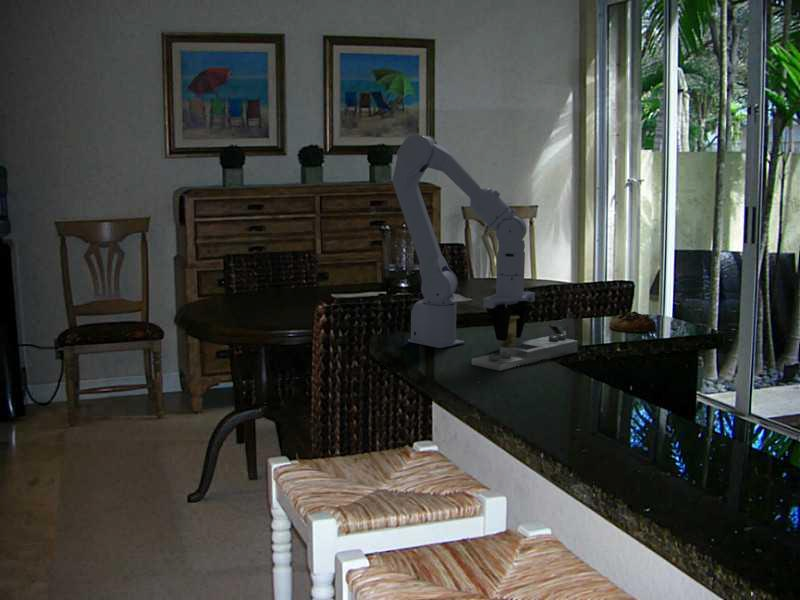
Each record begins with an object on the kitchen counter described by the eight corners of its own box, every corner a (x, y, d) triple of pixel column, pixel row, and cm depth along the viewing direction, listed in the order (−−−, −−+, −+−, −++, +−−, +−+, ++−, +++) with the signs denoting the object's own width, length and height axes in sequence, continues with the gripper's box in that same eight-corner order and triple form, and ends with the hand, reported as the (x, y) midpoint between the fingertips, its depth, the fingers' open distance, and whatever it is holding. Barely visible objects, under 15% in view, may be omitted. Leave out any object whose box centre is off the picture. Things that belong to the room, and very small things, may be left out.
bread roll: (666, 331, 219) (665, 310, 218) (626, 340, 215) (624, 319, 214) (637, 324, 229) (635, 304, 228) (598, 334, 225) (596, 313, 224)
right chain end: (499, 358, 188) (499, 342, 188) (549, 346, 200) (550, 332, 199) (527, 364, 183) (528, 347, 183) (577, 352, 195) (578, 336, 194)
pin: (493, 347, 199) (494, 314, 198) (506, 344, 202) (507, 312, 201) (509, 350, 196) (510, 317, 195) (523, 347, 199) (524, 314, 198)
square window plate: (471, 364, 182) (471, 354, 182) (522, 353, 193) (522, 343, 193) (499, 370, 177) (500, 360, 177) (549, 358, 188) (550, 348, 188)
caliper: (573, 343, 206) (574, 314, 205) (568, 343, 206) (569, 314, 205) (553, 325, 226) (554, 299, 225) (548, 325, 226) (549, 299, 225)
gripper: (503, 279, 188) (501, 346, 191) (547, 273, 199) (545, 336, 201) (476, 275, 193) (474, 340, 196) (520, 269, 203) (518, 332, 206)
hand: (508, 338), depth 198 cm, fingers open, 4 cm apart
